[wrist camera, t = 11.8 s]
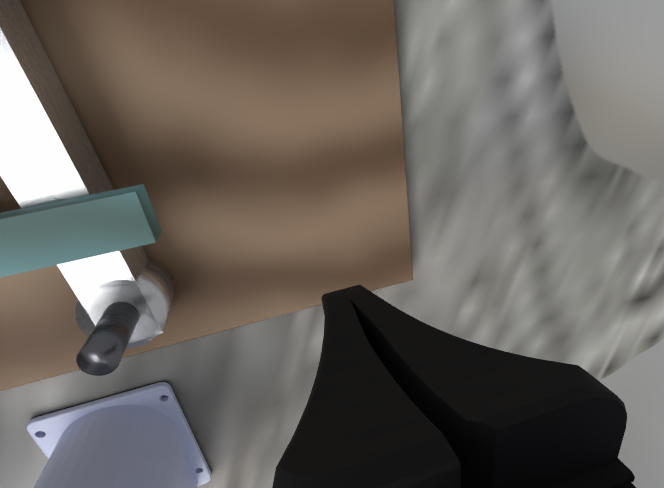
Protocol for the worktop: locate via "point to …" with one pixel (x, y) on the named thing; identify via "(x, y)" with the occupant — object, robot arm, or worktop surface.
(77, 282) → the link
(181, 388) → the worktop surface
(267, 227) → the board
